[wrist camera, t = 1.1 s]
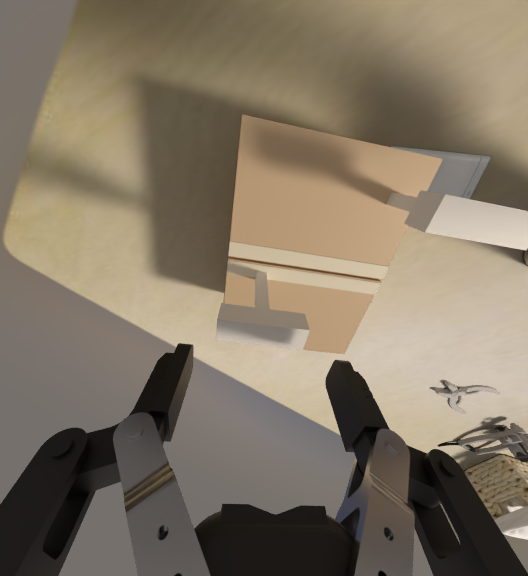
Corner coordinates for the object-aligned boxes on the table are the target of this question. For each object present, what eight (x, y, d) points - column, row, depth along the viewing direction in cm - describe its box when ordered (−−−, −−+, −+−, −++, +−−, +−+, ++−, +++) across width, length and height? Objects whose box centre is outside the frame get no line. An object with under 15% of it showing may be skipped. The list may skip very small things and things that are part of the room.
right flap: (378, 278, 23) (443, 341, 15) (342, 350, 28) (376, 424, 20) (228, 256, 21) (211, 312, 13) (221, 337, 26) (205, 412, 18)
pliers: (466, 417, 53) (425, 401, 50) (461, 411, 55) (420, 395, 51) (504, 395, 49) (463, 376, 45) (498, 389, 51) (456, 370, 47)
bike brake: (513, 416, 55) (433, 435, 65) (539, 448, 49) (447, 464, 59) (532, 432, 59) (454, 448, 69) (557, 463, 54) (469, 475, 64)
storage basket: (456, 470, 73) (498, 536, 60) (502, 449, 66) (561, 518, 53) (499, 482, 79) (546, 544, 66) (545, 464, 72) (607, 529, 59)
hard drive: (368, 218, 29) (456, 226, 29) (391, 145, 24) (493, 155, 25) (363, 216, 30) (447, 223, 31) (384, 146, 26) (481, 156, 27)
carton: (382, 160, 26) (603, 155, 9) (325, 307, 37) (381, 426, 20) (247, 131, 24) (224, 62, 8) (229, 294, 35) (203, 413, 18)
